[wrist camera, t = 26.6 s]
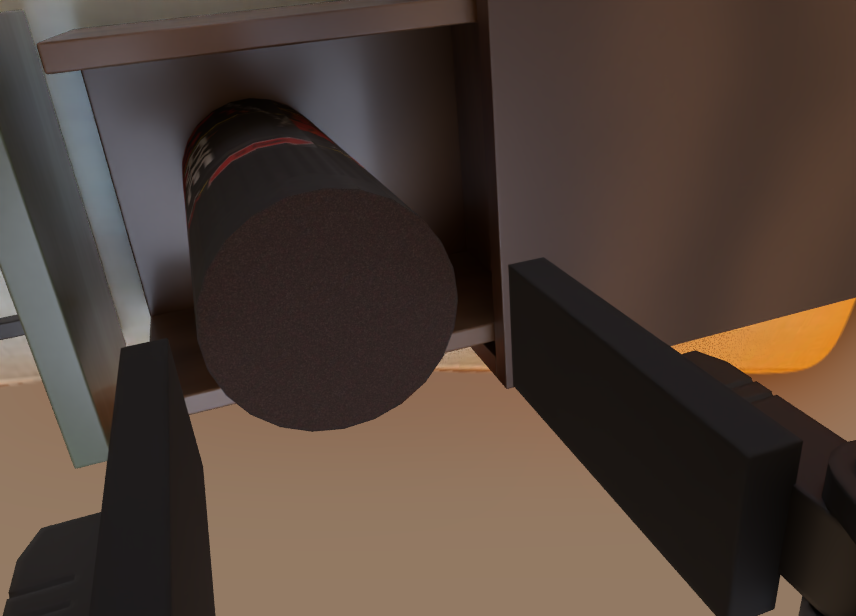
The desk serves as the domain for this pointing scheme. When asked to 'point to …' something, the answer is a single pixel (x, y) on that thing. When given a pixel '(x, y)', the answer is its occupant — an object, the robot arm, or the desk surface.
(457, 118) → the drawer
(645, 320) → the cabinet
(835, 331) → the desk surface
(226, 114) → the deodorant
